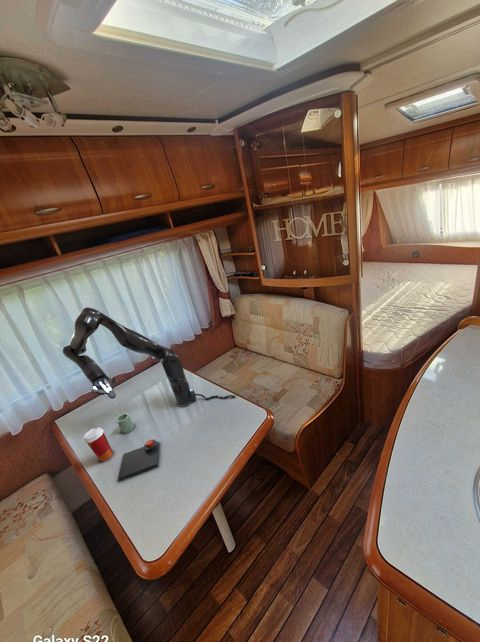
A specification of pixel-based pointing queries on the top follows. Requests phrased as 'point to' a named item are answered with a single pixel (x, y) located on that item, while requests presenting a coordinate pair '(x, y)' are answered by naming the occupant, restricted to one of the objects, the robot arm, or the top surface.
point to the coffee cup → (98, 443)
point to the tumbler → (125, 423)
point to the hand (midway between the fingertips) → (114, 397)
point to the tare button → (149, 443)
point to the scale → (139, 461)
